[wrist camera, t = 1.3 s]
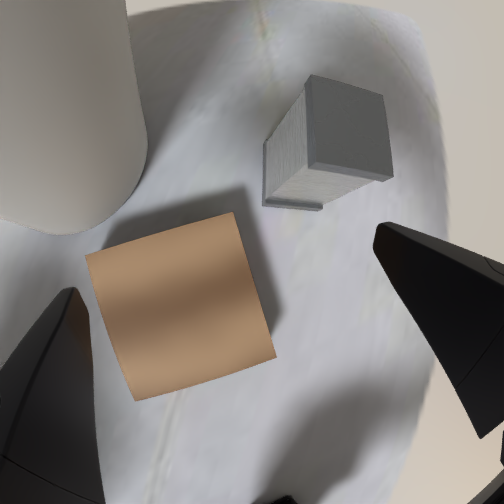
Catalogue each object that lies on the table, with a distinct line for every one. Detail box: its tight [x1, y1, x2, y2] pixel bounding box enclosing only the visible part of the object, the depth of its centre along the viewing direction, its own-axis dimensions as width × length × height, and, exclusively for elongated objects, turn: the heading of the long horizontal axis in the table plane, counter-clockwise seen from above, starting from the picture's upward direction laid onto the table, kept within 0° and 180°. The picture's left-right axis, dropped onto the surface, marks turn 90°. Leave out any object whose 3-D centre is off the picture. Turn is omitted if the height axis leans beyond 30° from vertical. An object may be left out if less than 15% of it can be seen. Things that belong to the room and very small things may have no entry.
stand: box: [85, 212, 277, 401], centre depth 20 cm, size 10×10×3 cm
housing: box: [262, 75, 394, 211], centre depth 19 cm, size 5×5×10 cm
